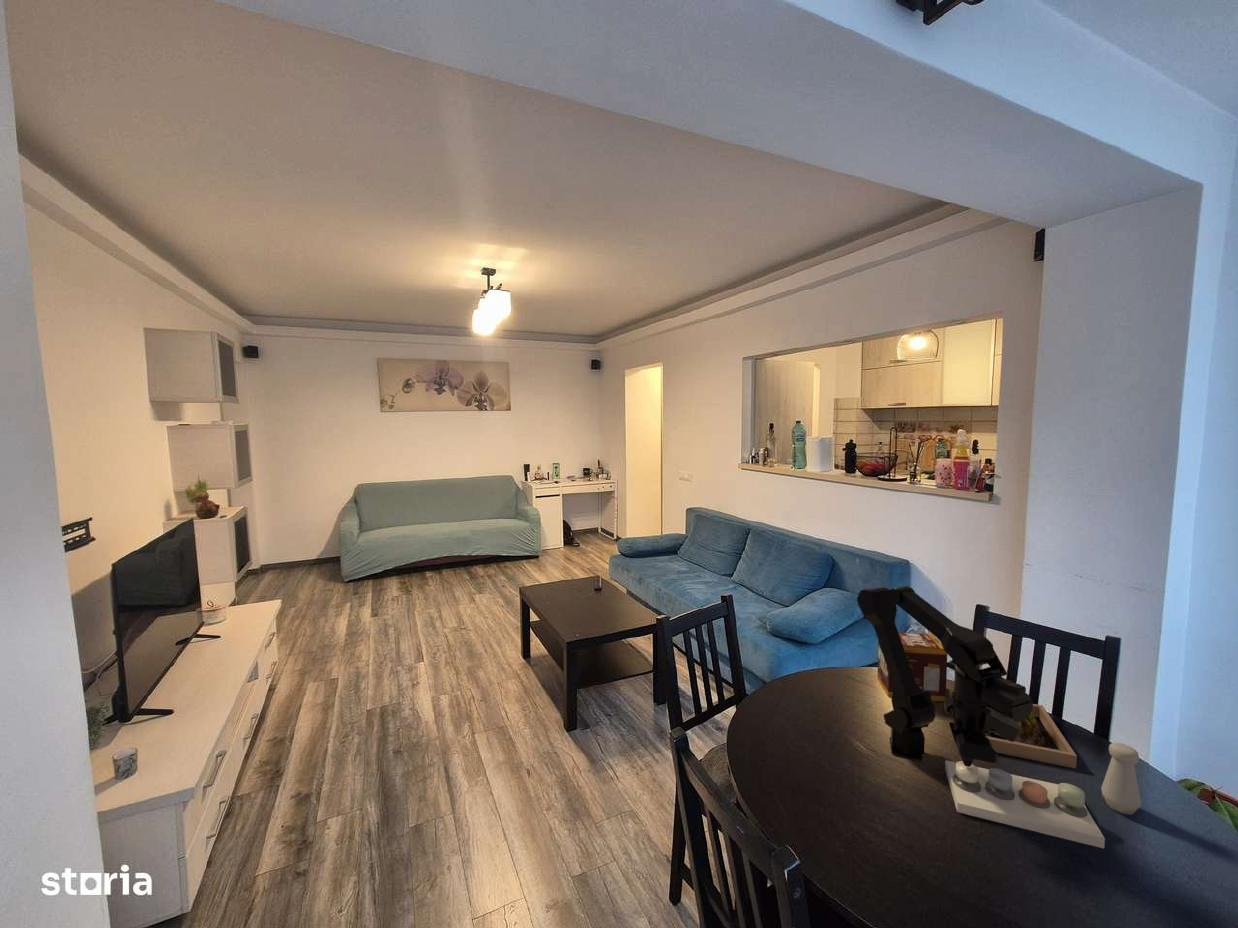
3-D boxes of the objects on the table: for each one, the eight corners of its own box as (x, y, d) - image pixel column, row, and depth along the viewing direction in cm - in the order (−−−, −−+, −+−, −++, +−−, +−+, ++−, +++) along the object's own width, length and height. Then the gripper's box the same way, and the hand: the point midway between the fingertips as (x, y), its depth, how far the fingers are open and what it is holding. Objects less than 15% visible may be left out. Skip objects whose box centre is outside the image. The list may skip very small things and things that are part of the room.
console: (957, 811, 103) (957, 800, 103) (945, 768, 116) (945, 758, 116) (1104, 848, 94) (1104, 836, 94) (1073, 796, 107) (1074, 785, 107)
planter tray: (965, 746, 124) (966, 734, 123) (949, 699, 144) (949, 689, 144) (1076, 768, 115) (1076, 755, 115) (1041, 716, 135) (1042, 705, 135)
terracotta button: (1025, 800, 103) (1025, 791, 103) (1019, 787, 106) (1019, 778, 106) (1050, 806, 101) (1050, 797, 101) (1043, 792, 105) (1043, 783, 105)
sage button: (1061, 803, 100) (1062, 793, 100) (1054, 789, 104) (1054, 780, 104) (1088, 809, 99) (1088, 799, 98) (1079, 795, 102) (1080, 786, 102)
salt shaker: (1148, 820, 100) (1153, 758, 99) (1114, 816, 102) (1118, 754, 100) (1125, 798, 106) (1129, 739, 105) (1093, 794, 107) (1097, 736, 106)
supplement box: (876, 679, 156) (877, 629, 155) (931, 683, 153) (933, 633, 152) (887, 697, 146) (888, 644, 145) (946, 702, 143) (948, 648, 141)
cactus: (1064, 736, 127) (1066, 698, 126) (1034, 758, 119) (1037, 718, 118) (986, 703, 142) (988, 670, 141) (956, 721, 134) (957, 686, 133)
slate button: (990, 787, 105) (991, 778, 105) (986, 774, 109) (986, 766, 108) (1014, 792, 103) (1015, 783, 103) (1008, 779, 107) (1009, 770, 107)
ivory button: (957, 779, 107) (958, 770, 107) (954, 767, 111) (954, 759, 111) (980, 784, 106) (980, 775, 106) (975, 772, 109) (976, 763, 109)
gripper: (1032, 729, 95) (1028, 807, 96) (1004, 681, 112) (1000, 748, 113) (961, 716, 100) (958, 790, 101) (945, 672, 117) (942, 736, 118)
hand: (966, 765), depth 108 cm, fingers closed
